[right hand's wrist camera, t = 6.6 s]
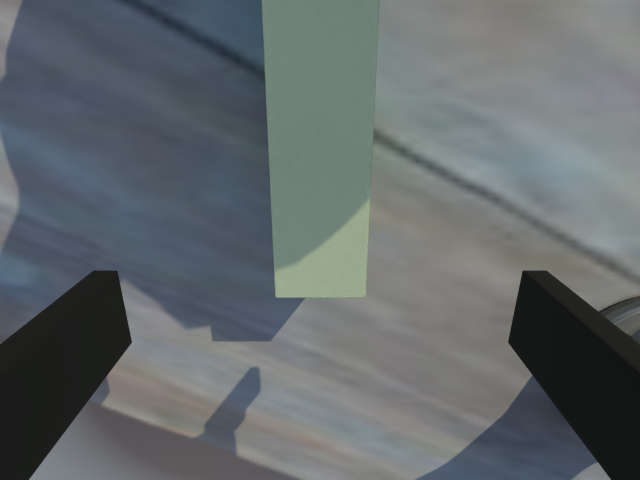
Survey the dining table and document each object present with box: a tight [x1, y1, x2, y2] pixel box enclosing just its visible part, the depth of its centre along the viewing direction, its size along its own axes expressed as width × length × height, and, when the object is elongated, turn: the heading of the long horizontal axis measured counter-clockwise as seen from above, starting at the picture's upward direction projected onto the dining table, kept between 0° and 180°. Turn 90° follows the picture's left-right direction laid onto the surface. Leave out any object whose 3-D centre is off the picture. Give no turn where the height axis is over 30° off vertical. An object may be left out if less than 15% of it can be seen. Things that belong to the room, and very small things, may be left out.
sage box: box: [261, 0, 379, 298], centre depth 20 cm, size 30×5×9 cm, turn 0°
